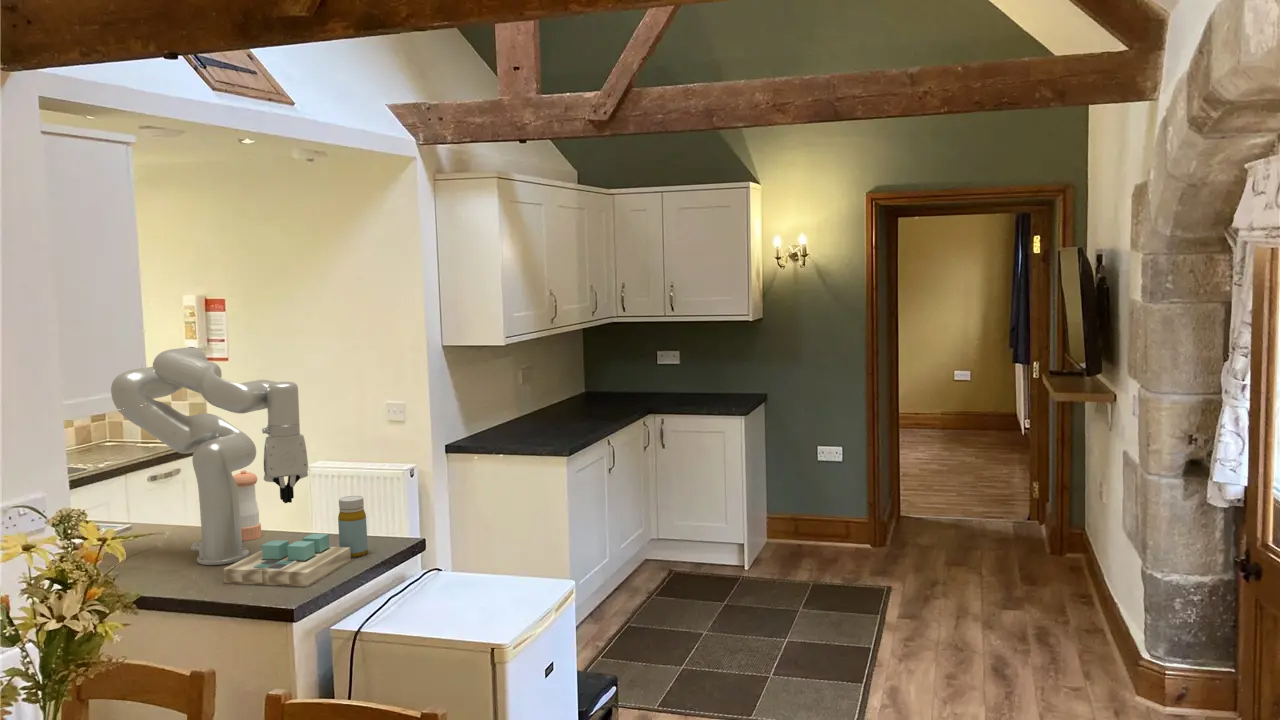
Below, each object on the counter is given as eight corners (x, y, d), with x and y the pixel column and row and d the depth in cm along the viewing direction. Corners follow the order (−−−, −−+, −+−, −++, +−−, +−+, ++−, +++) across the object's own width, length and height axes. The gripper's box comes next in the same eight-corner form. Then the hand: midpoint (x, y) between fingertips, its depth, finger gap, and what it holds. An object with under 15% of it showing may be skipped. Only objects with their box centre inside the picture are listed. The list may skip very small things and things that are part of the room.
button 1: (262, 558, 247) (261, 545, 247) (273, 553, 252) (272, 540, 251) (279, 559, 246) (278, 545, 246) (289, 554, 251) (288, 540, 250)
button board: (224, 583, 240) (223, 567, 240) (273, 557, 261) (272, 542, 261) (307, 586, 236) (306, 570, 236) (350, 560, 256) (350, 545, 256)
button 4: (303, 551, 252) (302, 538, 252) (312, 546, 257) (312, 533, 257) (319, 552, 251) (319, 538, 251) (329, 547, 256) (328, 533, 256)
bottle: (360, 558, 258) (357, 501, 257) (335, 557, 259) (332, 501, 258) (372, 551, 265) (369, 495, 263) (348, 550, 266) (345, 495, 265)
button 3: (288, 559, 246) (287, 546, 245) (298, 554, 250) (297, 540, 250) (305, 560, 245) (304, 546, 244) (314, 555, 249) (314, 541, 249)
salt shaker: (265, 537, 282) (261, 470, 280) (239, 542, 277) (235, 474, 275) (255, 532, 287) (251, 466, 285) (229, 537, 282) (225, 470, 280)
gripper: (256, 435, 246) (259, 509, 247) (318, 430, 254) (320, 500, 256) (249, 431, 252) (253, 503, 254) (310, 426, 260) (312, 495, 262)
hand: (287, 501), depth 255 cm, fingers closed
